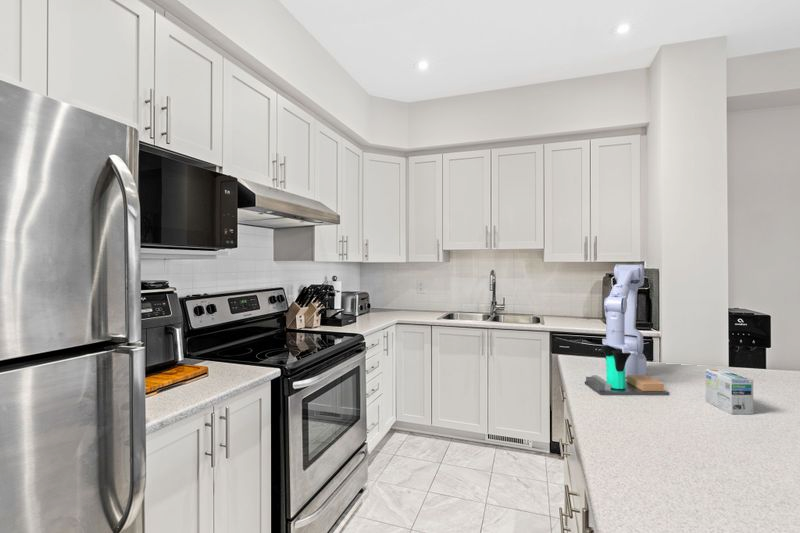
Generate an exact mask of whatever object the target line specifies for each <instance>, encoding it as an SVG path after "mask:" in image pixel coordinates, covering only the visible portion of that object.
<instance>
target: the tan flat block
mask: <svg viewBox="0 0 800 533" xmlns="http://www.w3.org/2000/svg"><path fill="white" fill-rule="evenodd" d="M626 381H627V382H628V383H630V384H632V385H634V386H635V387H637V388H639V389H641V390H642V391H664V390H665V383H663V382H661V381H659V380H658V379H656V378H653V377H652V376H649V375H647V374H646V375H627V378H626Z"/></svg>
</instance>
